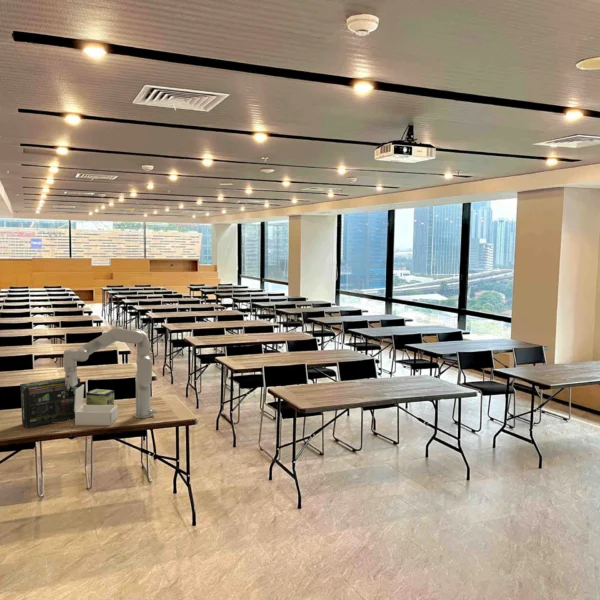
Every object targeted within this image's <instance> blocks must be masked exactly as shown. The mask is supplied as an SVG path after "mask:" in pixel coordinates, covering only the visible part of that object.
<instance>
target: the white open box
mask: <svg viewBox="0 0 600 600" xmlns="http://www.w3.org/2000/svg"><path fill="white" fill-rule="evenodd" d="M118 416H119V405H117V404H114V405H86V404H83V405H82V406H81V407H80V408H79V409H78V410H77V411H76V412H75V419H74V421H75V422H74V425H75V427H77V426H78V427H79V426H83V427H85V426H86V427H88V426H89V427H110V426H112V424H114V422H116V420H117V419H118Z"/></svg>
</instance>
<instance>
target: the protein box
mask: <svg viewBox="0 0 600 600" xmlns="http://www.w3.org/2000/svg"><path fill="white" fill-rule="evenodd" d="M85 394H86V395H85V397H86V398H85V405H115V390H114V389H112V390H111V389H99V388H94V389H92V390H89V391H87V392H85Z"/></svg>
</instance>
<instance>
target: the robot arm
mask: <svg viewBox="0 0 600 600" xmlns="http://www.w3.org/2000/svg"><path fill="white" fill-rule="evenodd" d="M116 342H120V343H127V344H133V345H136V366H137V367H136V371H137V372H136V373H135V413H134V414H133V417H134V418H136V419H148V418H150V417H151V418H152V417H153V416H154V414H156V415H157V413H158V411H157V410H156V409H152V406H151V403H152V402H151V398H152V397H151V383H152V380H153V379H152V378H153V361H152V358H151V344H150V343H151V342H150V339H149V336H148V335H147V334H146V333H145V332H144V331H143V330H142V329H140V328H132V329H131V330H130V329H125V328H123V327H121V326H118V325H117V326H115V327H113V328H111V329H110V330H107V332H104V333H103V334H101V335H100V336H98V337H96V338H94V339H92V340H90V341H89V342H87V343H85V344H84V345H82V346H81V347H79V348H77V350H75V349H71V348H70V349H66V350H64V351H63V369H64V373H65V375H64V378H65V386H66V387H67V389H68V397H74V396H75V394H74V393H73V387H75V385H77V384H78V379H77V377H78V371H77V370H78V364H77V362H86V361H87V360H88V359H89V356H90V355H92V354H93V353H95V352H96V351H99V350H103V349H107V348H108V347H109V346H111V345H113V344H115V343H116Z"/></svg>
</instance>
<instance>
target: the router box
mask: <svg viewBox="0 0 600 600" xmlns="http://www.w3.org/2000/svg"><path fill="white" fill-rule="evenodd" d="M77 379H78V384H77V385H75V387H76V388H79V387H80V386H81V378H80V377H78V376H77ZM19 386H20V388H19V389H20V404H21V408H20V409H21V424H22V426H23V427H24V428H26V429H29V428H33V427H34V428H35V427H40V426H46V425H51V424H55V423H60V422H67V421H72V420H75V412H76V411H77V410H76V411H75V412H74V403H75V396H74V397H68V389H67V387H66V386H65V377H60V378H53V379H45V380H40V381H38V380H37V381H31V382H24V383H20V384H19Z"/></svg>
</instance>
